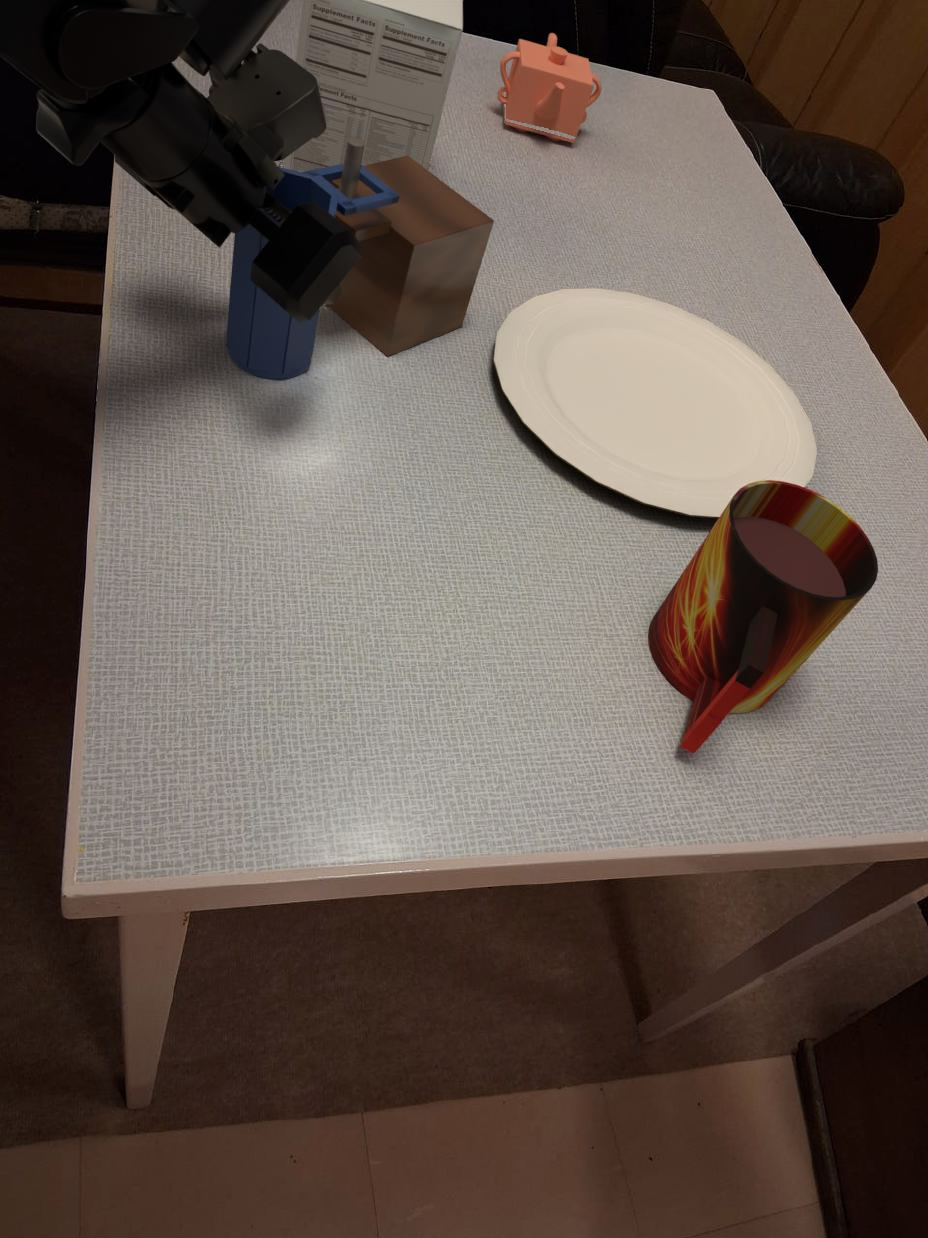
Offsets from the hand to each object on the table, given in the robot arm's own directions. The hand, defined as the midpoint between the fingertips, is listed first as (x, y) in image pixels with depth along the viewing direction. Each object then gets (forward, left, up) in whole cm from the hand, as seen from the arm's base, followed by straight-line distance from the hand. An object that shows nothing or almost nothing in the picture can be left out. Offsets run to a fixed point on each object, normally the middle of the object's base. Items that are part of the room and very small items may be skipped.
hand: (293, 261), depth 69 cm
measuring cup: (+1, +1, -7) cm, 7 cm away
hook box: (+4, +8, -7) cm, 12 cm away
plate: (+29, +11, -7) cm, 32 cm away
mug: (+38, -16, -7) cm, 42 cm away
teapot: (+8, +56, -7) cm, 57 cm away
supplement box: (-5, +29, -7) cm, 30 cm away
